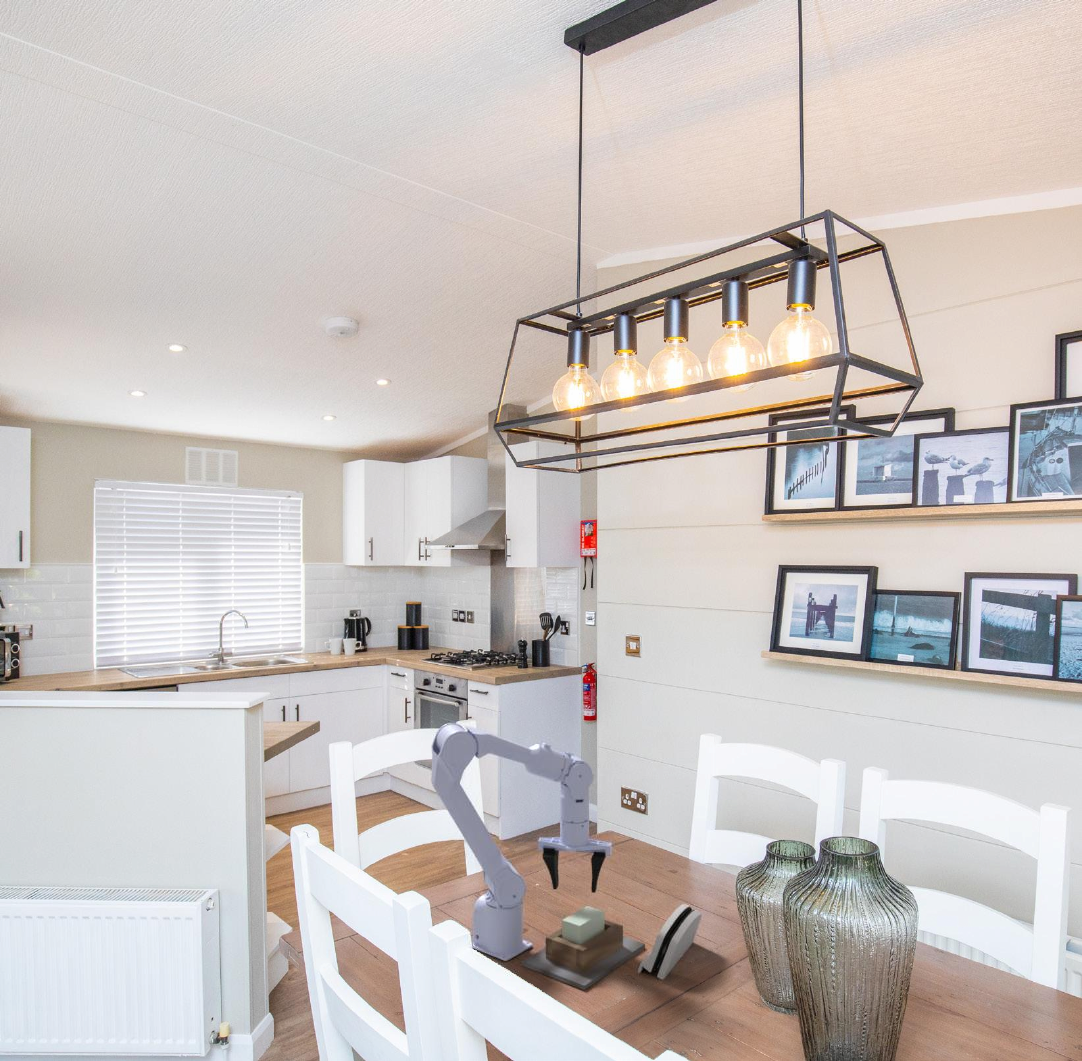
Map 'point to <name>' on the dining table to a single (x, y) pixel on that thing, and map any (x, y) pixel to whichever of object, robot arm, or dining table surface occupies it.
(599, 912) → the pale green block
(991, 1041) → the dining table surface
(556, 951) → the wooden box frame
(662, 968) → the white black rounded slab
